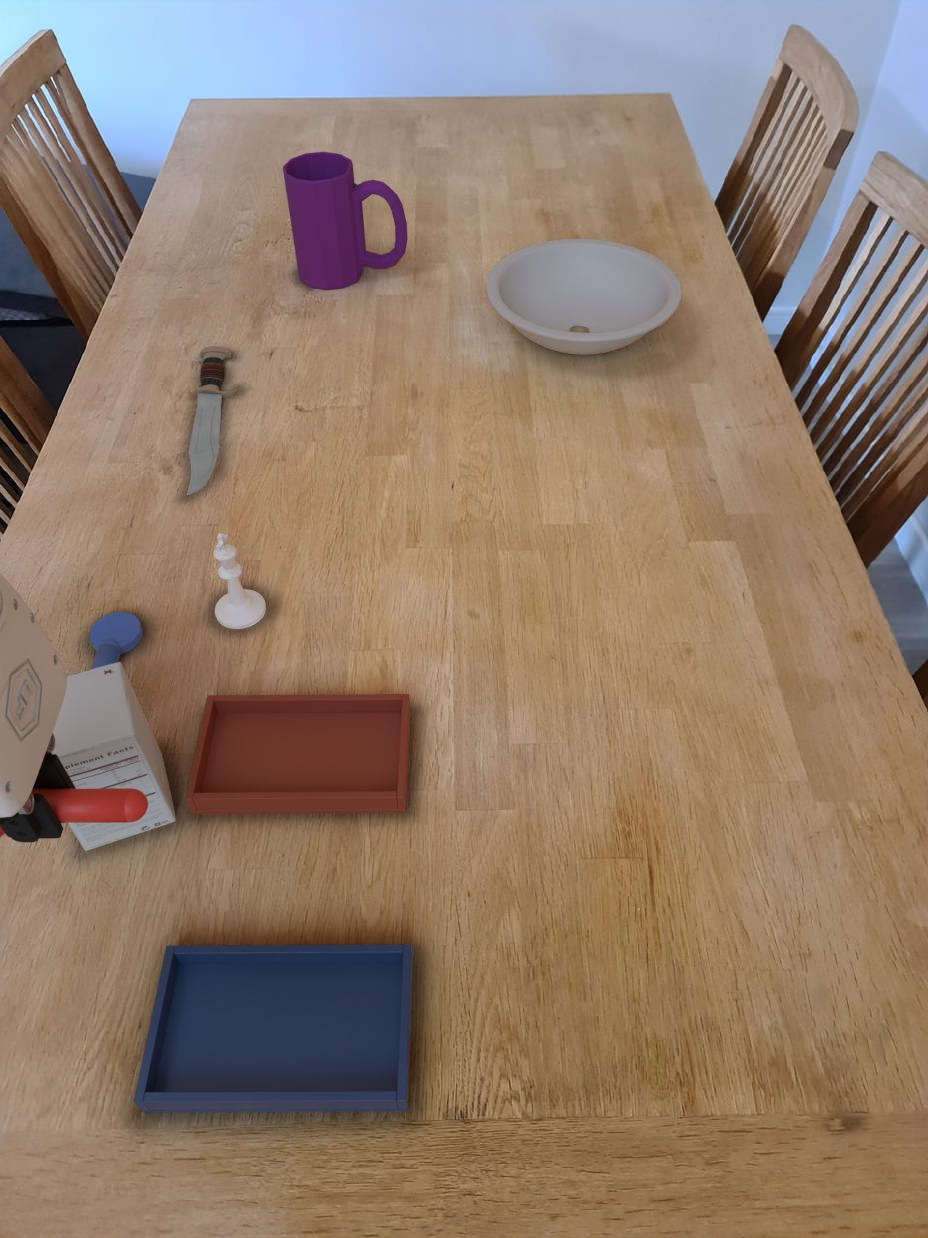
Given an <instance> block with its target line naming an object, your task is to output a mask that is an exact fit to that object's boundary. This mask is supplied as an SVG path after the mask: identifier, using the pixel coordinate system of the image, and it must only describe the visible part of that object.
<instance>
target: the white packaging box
mask: <svg viewBox="0 0 928 1238" xmlns="http://www.w3.org/2000/svg"><path fill="white" fill-rule="evenodd" d="M53 734H54V736H55V747H54V750H53V752H52V754H57V756H58V758H59V759H60V761H61V763H62V765H63V766H64V768H65V770H66V772H67V773H68V775H69V777H70V779H71V780H72V782H73V784H74V786H75V787H76V789H110V788H132V789H137V790H140V791H141V792H142V793H144V795H145V796H146V798H147V801H148V808H147V811H146V813H145V815H144V816H143V817H142V818H141V819H139V820H138V821H135V822H130V823H67V825H68V827H69V828H70V830H71V831H72V833H73V834H74V836H75V838H76V840H77V841H78V842H79V844H80V845H81V847H82V848H83V850H84V851H85V852H87V851H90V850H93V849H96V848H100V847H102V846H105V845H108V844H111V843H115V842H118V841H120V840H124V839H126V838H129V837H132V836H133V837H134V836H135V835H138V834H142V833H144V832H148V831H151V830H154V829H157V828H160V827H163V826H166V825H169V824H173V823H175V822H176V821H177V817H176V811H175V806H174V800H173V796H172V792H171V787H170V782H169V779H168V774H167V770H166V765H165V761H164V757H163V753H162V750H161V749H160V746H159V745H158V742H157V739H156V738H155V736H154V733H153V730H152V729H151V726H150V724H149V722H148V719H147V717H146V715H145V713H144V711H143V709H142V706H141V704H140V701H139V700H138V697H137V695H136V693H135V691H134V688H133V686H132V683H131V681H130V679H129V677H128V675H127V672H126V670H125V668H124V666H123V663H122V662H121V661H118V662H117V663H114V664H109V665H105V666H102V667H98V668H95V669H91V668H90V669H89V670H85V671H81V672H77V673H74V674H71V675H67V686H66V692H65V696H64V699H63V703H62V706H61V709H60V712H59V715H58V718H57V721H56V724H55V727H54V730H53Z"/></svg>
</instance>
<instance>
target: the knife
mask: <svg viewBox="0 0 928 1238" xmlns="http://www.w3.org/2000/svg"><path fill="white" fill-rule="evenodd" d="M200 358H201V359H203V361H202V363H201V367H200V374H199V381H200V387H196V397H197V400H196V401H197V402H196V408H195V415H194V419H193V425H192V430H191V436H190V441H189V446H188V457H189V463H190V476H189V477H190V478H189V484H188V489H187V492H186V495H185V496H186V497H188V496H190V495H193V494H195V493H197V492H199V491H200V490H201V489H203V488H204V487H205V486H206V485H207V483H208V482H209V480H210V478H211V476H212V473H213V471H214V469H215V467H216V464H217V461H218V456H219V453H220V452H219V451H220V441H221V440H220V438H221V425H222V423H221V421H222V404H223V403H222V402H223V399H226V398H230V397H232V396H234V395H236V394H237V393H238V388H237V387H236V388H235V389H234V390H220V387H221V384H222V383H223V379H224V365H223V363H224V360H227V359H231V358H232V352H231V350H230V349H229V348H227V347H225V346H217V345H214V346H206V347H203V348H202V349H201V350H200Z"/></svg>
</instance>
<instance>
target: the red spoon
mask: <svg viewBox="0 0 928 1238" xmlns="http://www.w3.org/2000/svg"><path fill="white" fill-rule="evenodd" d="M32 793H39V794H42V795H44V797H45V798H46V800H47V802H48V803H49V805H50V806H51V808H52V810H53V811H54V813H55V814H56V816H57V819H58V820H59V822H60V823H61V824H68V823H130V822H135V821H138V820H139V819H141V818H142V817H143V816H144V815H145V813H146V811H147V808H148V801H147V798H146V796H145V795H144V793H142V792H141V791H140V790H137V789H132V788H110V789H32ZM4 835H6V834H5V832H4V831H3V829H2V828H1V827H0V838H2V837H3V836H4Z"/></svg>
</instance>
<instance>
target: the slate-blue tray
mask: <svg viewBox="0 0 928 1238" xmlns="http://www.w3.org/2000/svg"><path fill="white" fill-rule="evenodd" d="M413 982H414V951H413V944H411V943H410V944H408V943H405V944H403V943H402V944H399V943H397V944H396V943H395V944H392V943H387V944H385V943H384V944H381V943H380V944H375V943H374V944H223V945H222V944H221V945H220V944H218V945H217V944H211V945H208V944H207V945H206V944H204V945H199V944H198V945H192V944H191V945H188V944H187V945H186V944H185V945H172V944H171V945H167V944H166V947H165V951H164V956H163V961H162V965H161V969H160V975H159V979H158V984H157V987H156V988H157V989H156V993H155V999H154V1003H153V1008H152V1012H151V1017H150V1022H149V1026H148V1031H147V1037H146V1041H145V1046H144V1051H143V1055H142V1060H141V1064H140V1069H139V1074H138V1078H137V1079H138V1080H137V1083H136V1088H135V1093H134V1097H133V1103H134V1104H135V1105H136V1107H138V1109H139V1110H140V1111H141V1112H142V1113H144V1114H146V1113H147V1114H151V1113H153V1114H160V1113H161V1114H162V1113H163V1114H164V1113H166V1114H167V1113H171V1114H172V1113H173V1114H174V1113H175V1114H176V1113H177V1114H178V1113H179V1114H180V1113H182V1114H183V1113H185V1114H187V1113H188V1114H189V1113H191V1114H192V1113H194V1114H195V1113H196V1114H197V1113H198V1114H199V1113H202V1114H203V1113H385V1112H386V1113H398V1112H399V1113H407V1112H409V1100H410V1099H409V1096H410V1072H411V1071H410V1070H411V1069H410V1067H411V1042H412V1040H411V1039H412V1014H413V1013H412V1011H413V984H414V983H413Z"/></svg>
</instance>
